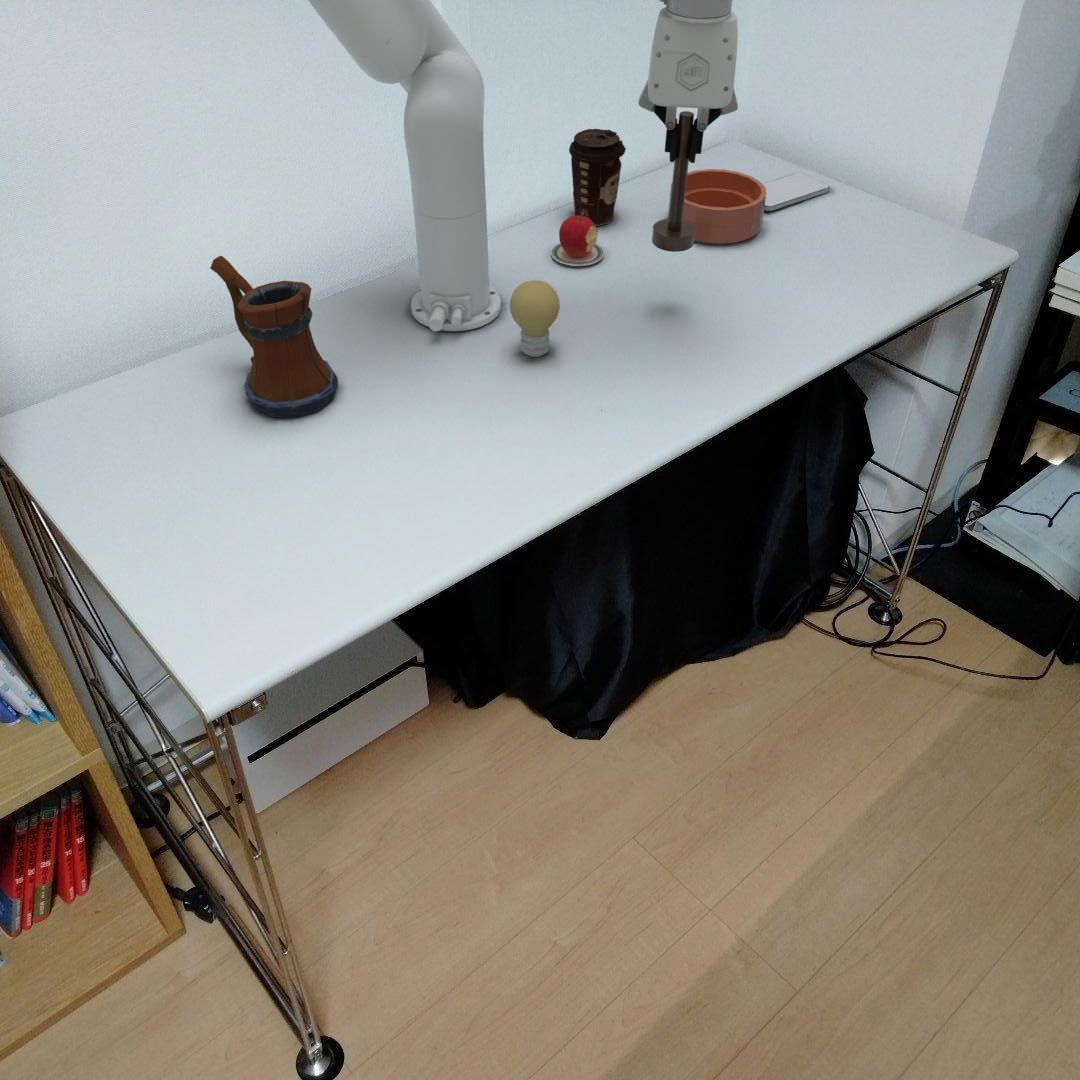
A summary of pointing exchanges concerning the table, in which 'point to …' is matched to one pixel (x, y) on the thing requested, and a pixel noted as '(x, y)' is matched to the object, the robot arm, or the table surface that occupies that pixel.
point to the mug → (279, 345)
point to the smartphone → (792, 190)
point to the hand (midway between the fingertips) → (682, 157)
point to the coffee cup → (596, 173)
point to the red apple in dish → (577, 242)
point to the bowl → (723, 205)
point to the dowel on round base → (677, 196)
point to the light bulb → (534, 314)
